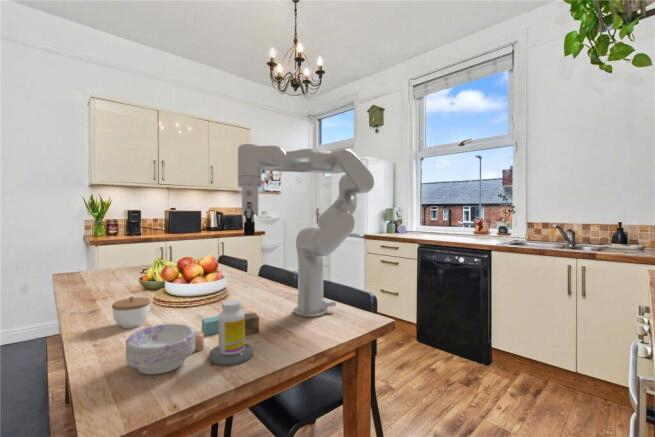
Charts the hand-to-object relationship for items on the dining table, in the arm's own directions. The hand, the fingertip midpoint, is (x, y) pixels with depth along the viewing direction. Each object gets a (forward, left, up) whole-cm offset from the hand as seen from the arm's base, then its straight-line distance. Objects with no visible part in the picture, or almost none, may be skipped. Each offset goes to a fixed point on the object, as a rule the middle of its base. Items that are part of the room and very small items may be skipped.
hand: (249, 233), depth 106 cm
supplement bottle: (+4, +23, -29) cm, 37 cm away
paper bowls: (+20, +25, -31) cm, 44 cm away
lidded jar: (+38, -6, -31) cm, 49 cm away
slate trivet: (+4, +23, -30) cm, 38 cm away
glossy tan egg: (+14, +17, -30) cm, 37 cm away
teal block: (+11, +5, -31) cm, 33 cm away
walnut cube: (0, +7, -30) cm, 31 cm away
